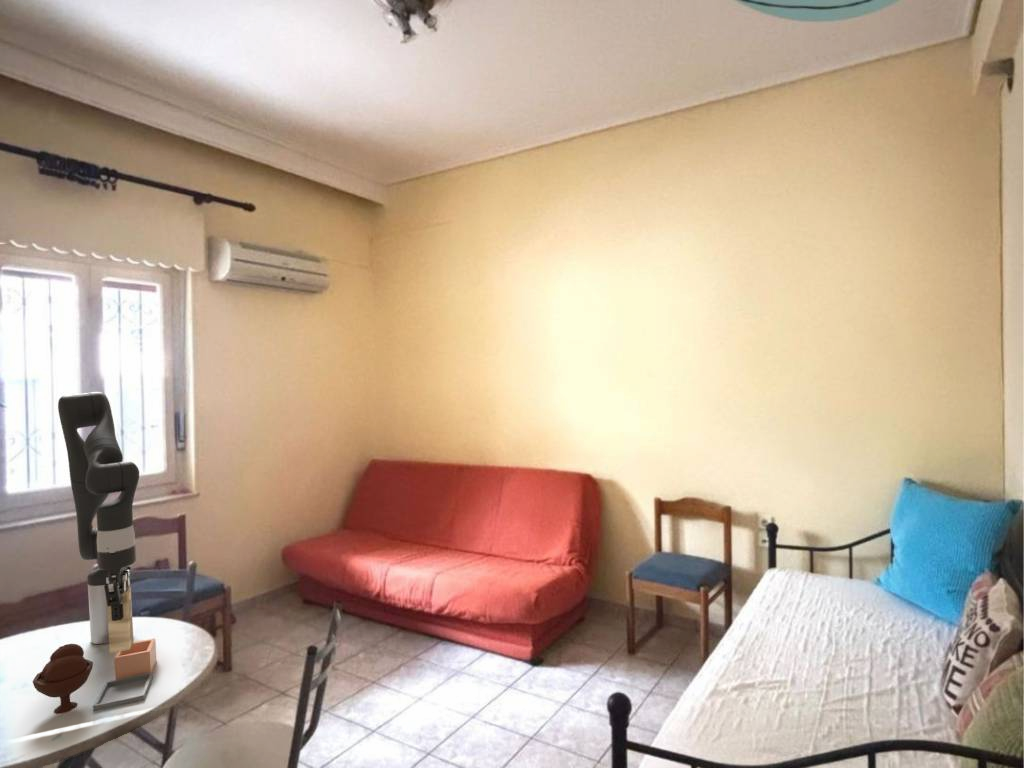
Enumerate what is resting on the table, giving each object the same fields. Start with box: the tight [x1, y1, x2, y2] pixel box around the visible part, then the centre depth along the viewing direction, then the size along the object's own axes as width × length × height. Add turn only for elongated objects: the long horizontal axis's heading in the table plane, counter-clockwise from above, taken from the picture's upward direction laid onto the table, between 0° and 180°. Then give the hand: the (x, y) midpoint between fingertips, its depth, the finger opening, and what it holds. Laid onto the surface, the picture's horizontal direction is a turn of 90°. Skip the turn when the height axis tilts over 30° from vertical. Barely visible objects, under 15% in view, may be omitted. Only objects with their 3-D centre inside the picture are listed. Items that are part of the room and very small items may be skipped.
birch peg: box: [107, 585, 134, 654], centre depth 137 cm, size 4×4×14 cm
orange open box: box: [113, 638, 158, 680], centre depth 147 cm, size 8×8×7 cm
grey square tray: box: [92, 671, 154, 712], centre depth 137 cm, size 11×10×2 cm
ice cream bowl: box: [31, 643, 94, 715], centre depth 132 cm, size 11×11×15 cm
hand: (120, 615), depth 137 cm, fingers closed on birch peg, 4 cm apart
